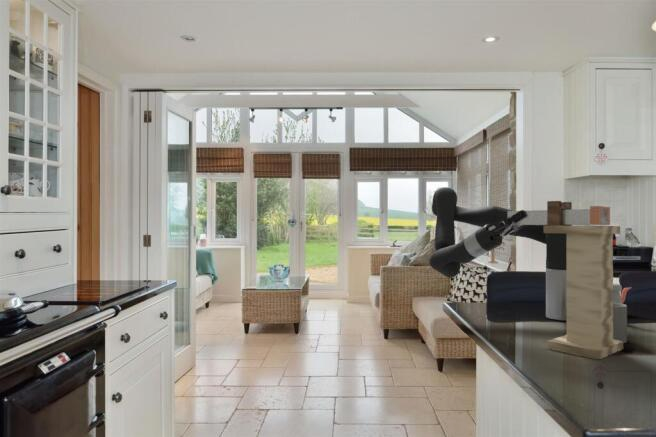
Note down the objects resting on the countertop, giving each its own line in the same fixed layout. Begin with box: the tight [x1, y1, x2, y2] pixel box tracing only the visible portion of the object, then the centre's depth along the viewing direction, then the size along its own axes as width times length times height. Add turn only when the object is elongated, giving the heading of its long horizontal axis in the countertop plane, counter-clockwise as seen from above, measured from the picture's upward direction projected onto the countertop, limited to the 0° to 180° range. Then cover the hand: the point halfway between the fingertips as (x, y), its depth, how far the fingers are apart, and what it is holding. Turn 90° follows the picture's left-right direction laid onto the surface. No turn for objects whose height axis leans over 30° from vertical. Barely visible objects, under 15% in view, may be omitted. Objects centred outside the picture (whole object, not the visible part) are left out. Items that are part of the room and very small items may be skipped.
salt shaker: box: [613, 283, 623, 304], centre depth 147 cm, size 6×6×13 cm
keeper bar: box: [508, 205, 611, 226], centre depth 120 cm, size 7×25×5 cm, turn 38°
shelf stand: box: [544, 200, 624, 361], centre depth 114 cm, size 16×14×39 cm
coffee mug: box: [613, 302, 628, 344], centre depth 126 cm, size 13×10×10 cm
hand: (528, 213), depth 126 cm, fingers closed on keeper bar, 4 cm apart
